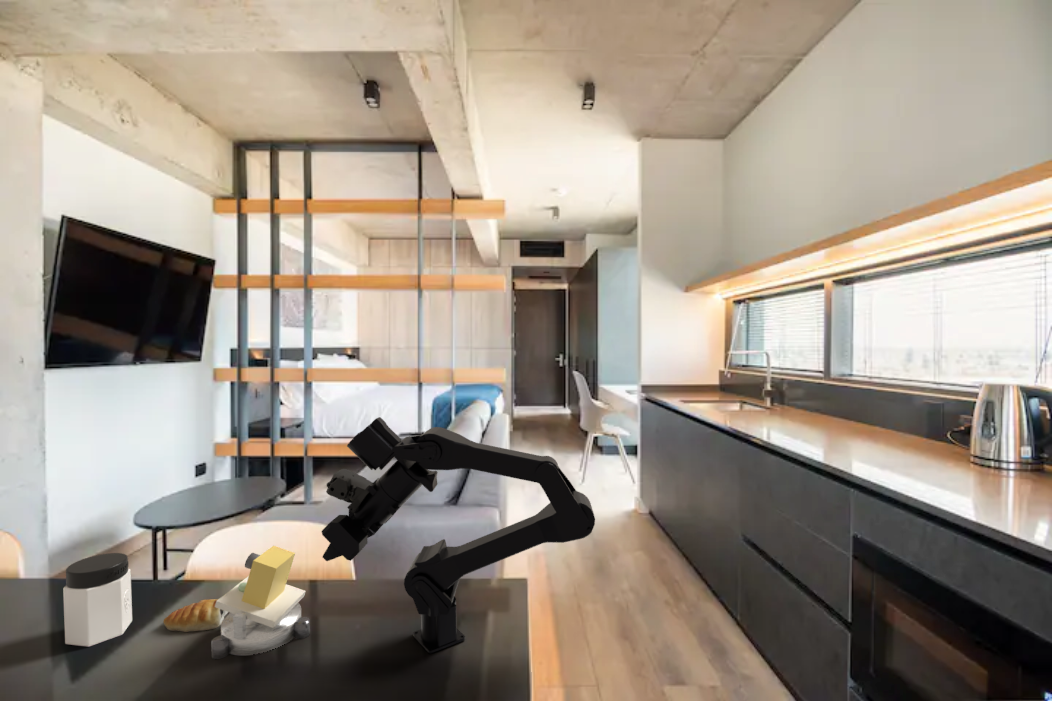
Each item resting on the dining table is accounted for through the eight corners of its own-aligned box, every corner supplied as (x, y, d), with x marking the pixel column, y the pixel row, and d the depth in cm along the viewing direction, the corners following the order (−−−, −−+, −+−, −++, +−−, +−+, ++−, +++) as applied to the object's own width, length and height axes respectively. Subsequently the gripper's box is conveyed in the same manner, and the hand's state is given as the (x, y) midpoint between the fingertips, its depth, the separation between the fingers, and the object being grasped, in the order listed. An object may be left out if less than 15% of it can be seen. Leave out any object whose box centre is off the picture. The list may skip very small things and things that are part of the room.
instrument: (304, 598, 93) (317, 553, 93) (271, 631, 83) (286, 581, 82) (251, 579, 94) (264, 534, 94) (212, 610, 83) (227, 560, 83)
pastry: (157, 639, 88) (156, 616, 88) (172, 618, 94) (172, 597, 94) (220, 630, 90) (219, 607, 90) (231, 610, 97) (230, 589, 97)
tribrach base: (327, 612, 95) (327, 576, 95) (286, 661, 81) (285, 619, 81) (252, 610, 96) (251, 575, 96) (199, 658, 82) (198, 617, 82)
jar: (119, 642, 87) (116, 569, 86) (57, 652, 84) (54, 577, 83) (138, 614, 95) (136, 548, 95) (82, 623, 92) (79, 555, 92)
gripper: (377, 442, 96) (319, 502, 97) (333, 469, 77) (262, 542, 78) (421, 486, 95) (362, 545, 97) (387, 523, 77) (315, 596, 78)
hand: (328, 555), depth 87 cm, fingers open, 3 cm apart
